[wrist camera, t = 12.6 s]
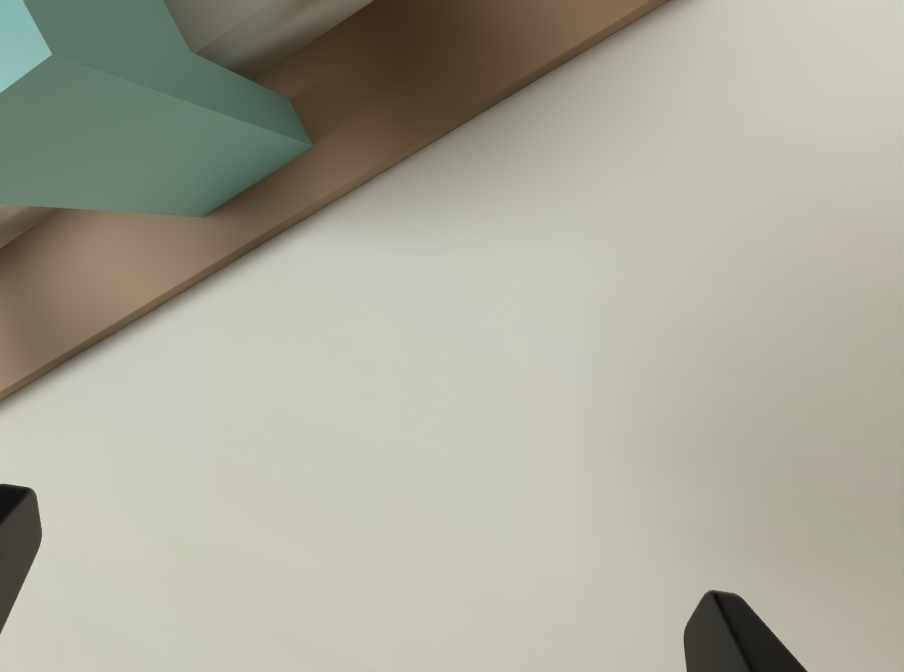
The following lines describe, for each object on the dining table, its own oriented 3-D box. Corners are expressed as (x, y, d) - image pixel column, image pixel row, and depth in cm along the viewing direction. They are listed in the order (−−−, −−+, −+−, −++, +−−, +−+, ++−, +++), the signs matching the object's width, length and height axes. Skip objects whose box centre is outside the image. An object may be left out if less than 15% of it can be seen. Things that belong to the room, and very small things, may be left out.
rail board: (521, -371, 18) (502, -536, 14) (702, -20, 19) (731, -90, 15) (-164, 149, 24) (-308, 132, 20) (-20, 412, 24) (-136, 444, 21)
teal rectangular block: (314, 145, 20) (52, 54, 10) (201, 217, 21) (-137, 194, 11) (185, -92, 20) (-204, -412, 10) (78, -10, 21) (-375, -232, 11)
